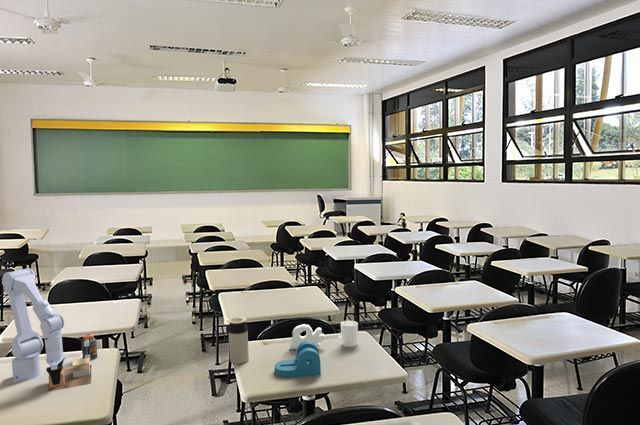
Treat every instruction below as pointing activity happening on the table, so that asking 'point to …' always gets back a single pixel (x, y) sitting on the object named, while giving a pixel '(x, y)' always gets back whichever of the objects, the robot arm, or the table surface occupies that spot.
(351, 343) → the white cup
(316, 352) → the camera mount
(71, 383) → the board
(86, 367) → the slab top
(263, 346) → the table surface
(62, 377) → the block
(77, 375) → the slab bottom
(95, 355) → the pill bottle
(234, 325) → the travel mug
